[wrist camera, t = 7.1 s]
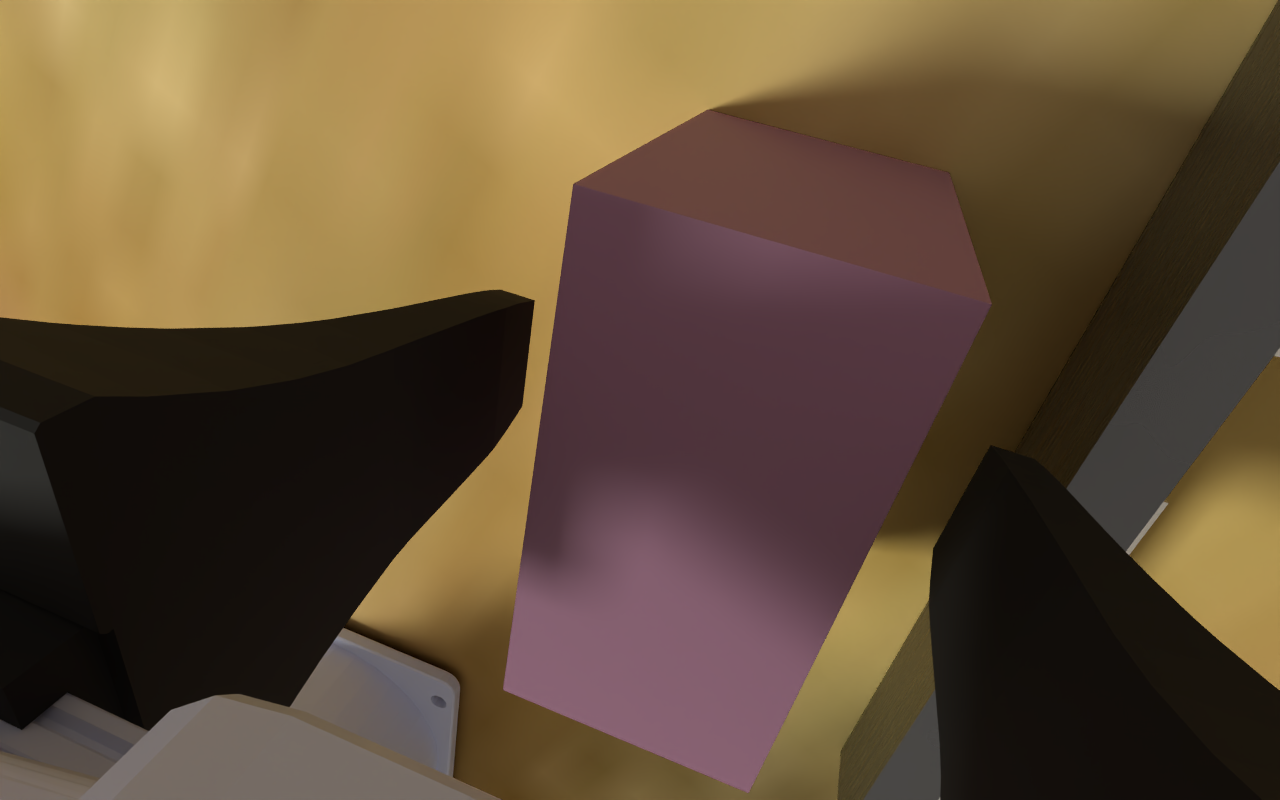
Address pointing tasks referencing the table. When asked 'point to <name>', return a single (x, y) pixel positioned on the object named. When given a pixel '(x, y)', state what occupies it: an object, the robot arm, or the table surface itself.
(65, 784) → the robot arm
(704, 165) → the carton
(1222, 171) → the price rail
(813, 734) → the table surface
